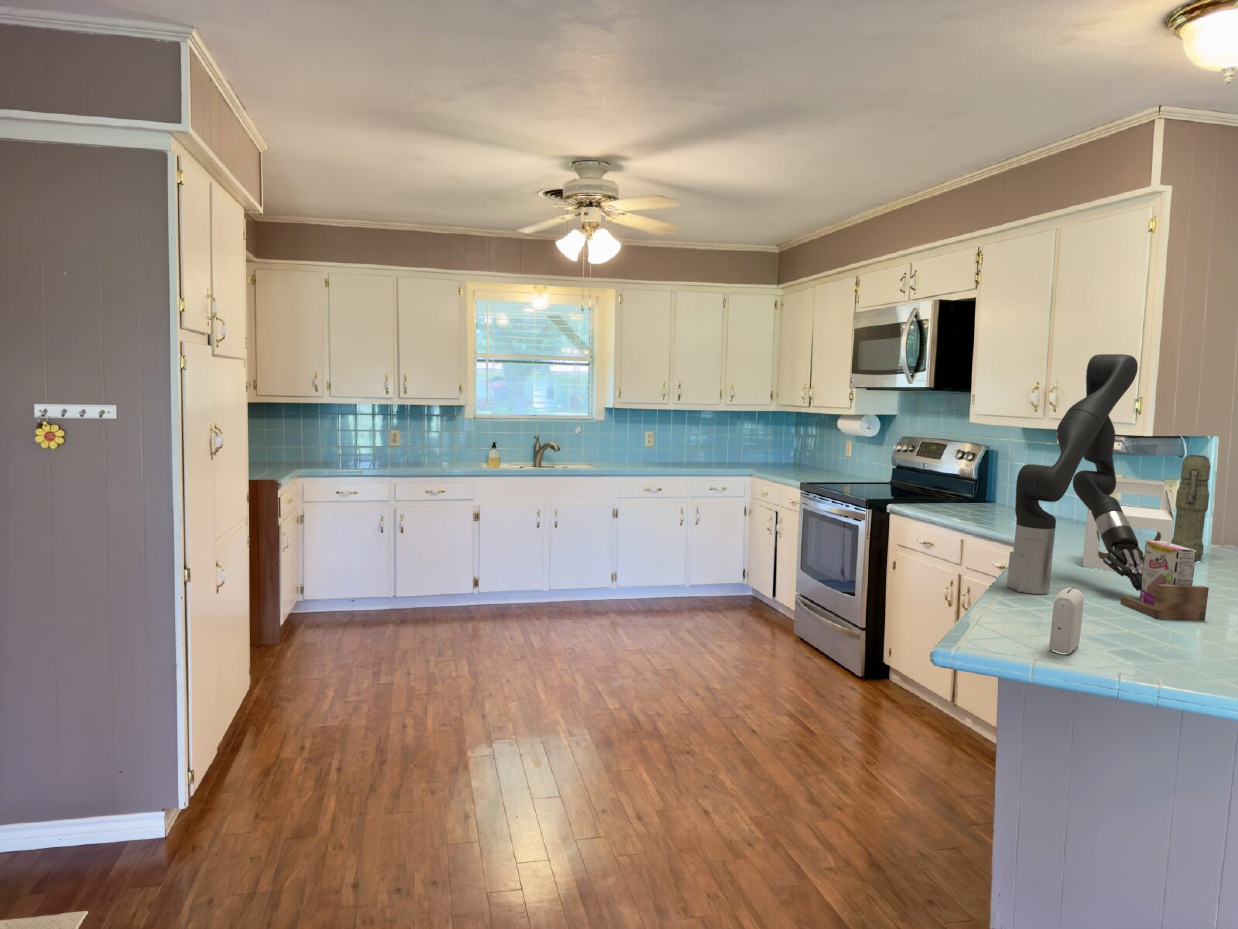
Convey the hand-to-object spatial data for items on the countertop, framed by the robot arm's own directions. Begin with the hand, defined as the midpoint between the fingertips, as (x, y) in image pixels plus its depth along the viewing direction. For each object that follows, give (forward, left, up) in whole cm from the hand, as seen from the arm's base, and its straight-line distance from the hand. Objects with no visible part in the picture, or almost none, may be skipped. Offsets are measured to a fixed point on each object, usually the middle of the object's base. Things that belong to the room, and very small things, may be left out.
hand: (1141, 589), depth 206 cm
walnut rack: (0, -8, -4) cm, 9 cm away
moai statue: (+57, +62, -4) cm, 84 cm away
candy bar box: (+2, -6, -4) cm, 7 cm away
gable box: (+24, +44, -4) cm, 50 cm away
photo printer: (-44, -40, -4) cm, 60 cm away
